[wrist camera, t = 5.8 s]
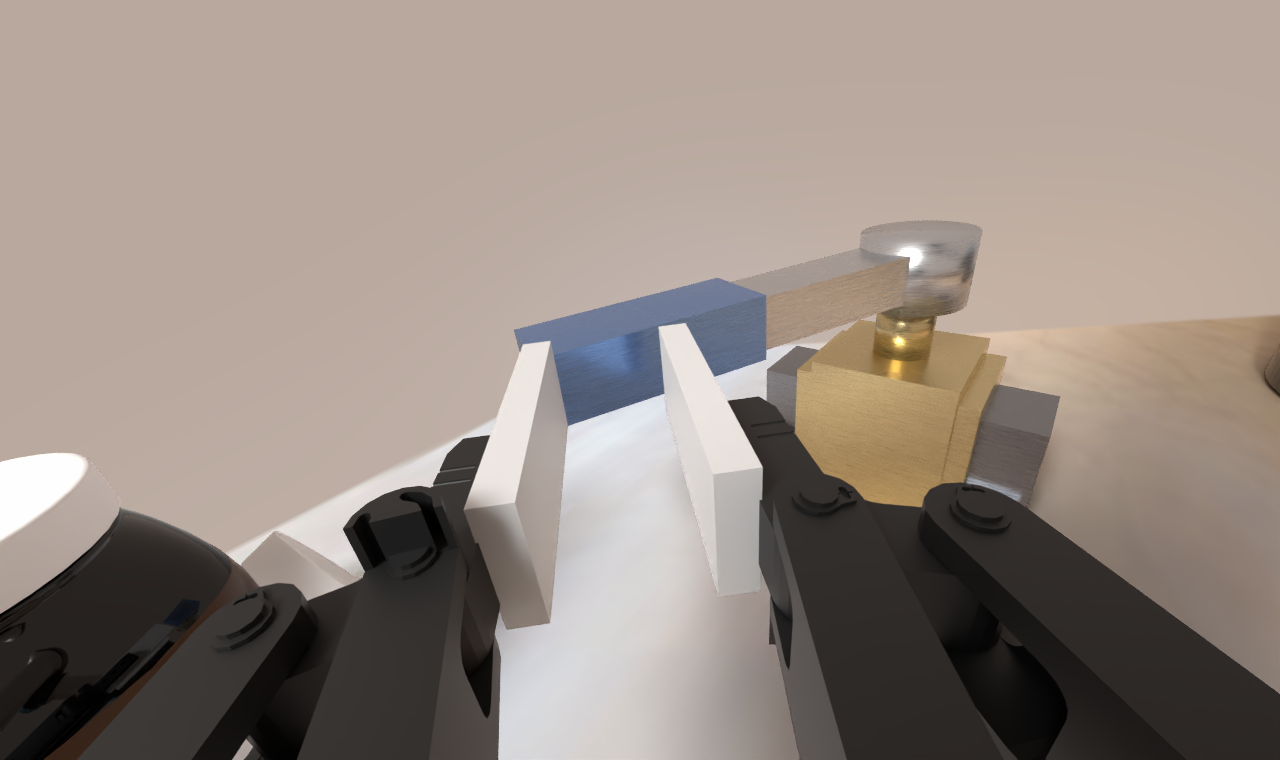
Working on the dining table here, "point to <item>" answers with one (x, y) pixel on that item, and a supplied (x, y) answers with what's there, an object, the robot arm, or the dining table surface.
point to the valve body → (912, 411)
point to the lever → (757, 312)
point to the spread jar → (106, 600)
